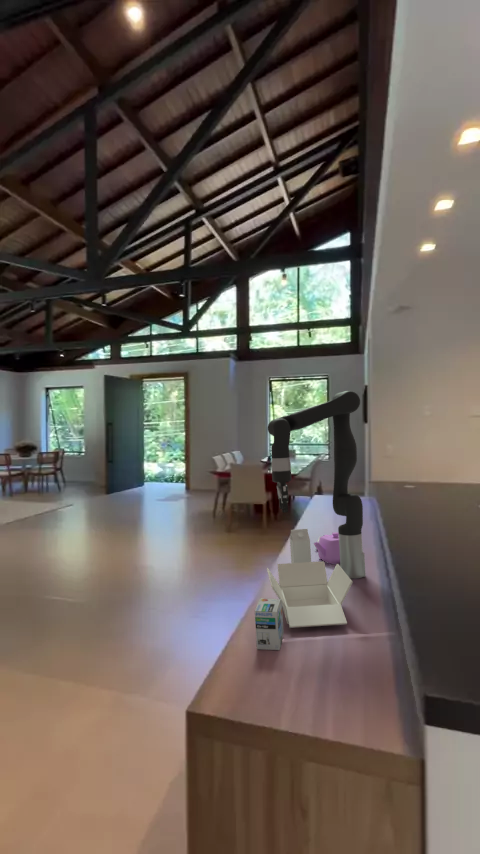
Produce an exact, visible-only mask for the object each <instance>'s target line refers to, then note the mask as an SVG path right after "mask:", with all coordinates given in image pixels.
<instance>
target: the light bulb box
mask: <svg viewBox="0 0 480 854" xmlns="http://www.w3.org/2000/svg"><path fill="white" fill-rule="evenodd" d="M283 617H284V613H283V607H282V599H279V598H261V597H260V599H259V600H258V603H257V605H256V607H255V610H254V622H255V639H256V649H257V650H264V651H265V650H267V651H268V650H269V651H280V650H281V646H282V643H283V639H284V638H283V637H284V634H285V633H284V618H283Z"/></svg>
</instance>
